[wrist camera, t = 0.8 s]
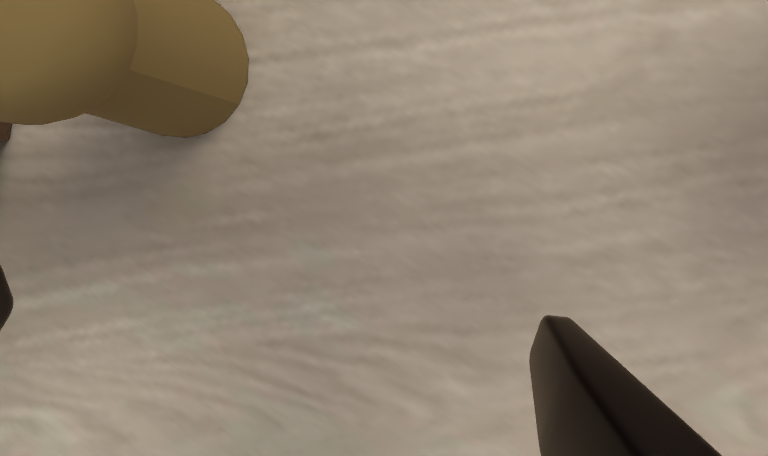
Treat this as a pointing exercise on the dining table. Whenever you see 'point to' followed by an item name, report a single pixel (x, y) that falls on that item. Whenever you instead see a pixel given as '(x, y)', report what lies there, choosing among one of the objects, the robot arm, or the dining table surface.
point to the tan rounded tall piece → (121, 63)
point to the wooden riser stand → (4, 131)
